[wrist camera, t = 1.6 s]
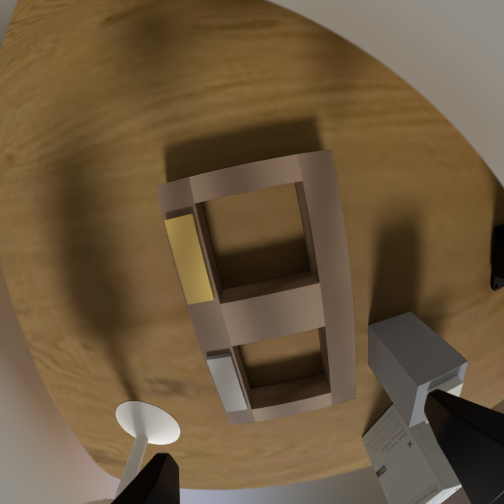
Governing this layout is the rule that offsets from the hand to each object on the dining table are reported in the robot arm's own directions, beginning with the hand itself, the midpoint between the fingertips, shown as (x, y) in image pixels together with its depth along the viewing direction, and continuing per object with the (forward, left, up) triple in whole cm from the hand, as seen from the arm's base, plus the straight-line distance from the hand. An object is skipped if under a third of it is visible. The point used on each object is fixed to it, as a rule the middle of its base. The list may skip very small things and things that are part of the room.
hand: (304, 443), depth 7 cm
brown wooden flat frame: (0, 0, -12) cm, 12 cm away
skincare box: (-10, +18, -12) cm, 24 cm away
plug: (-9, +6, -12) cm, 16 cm away
